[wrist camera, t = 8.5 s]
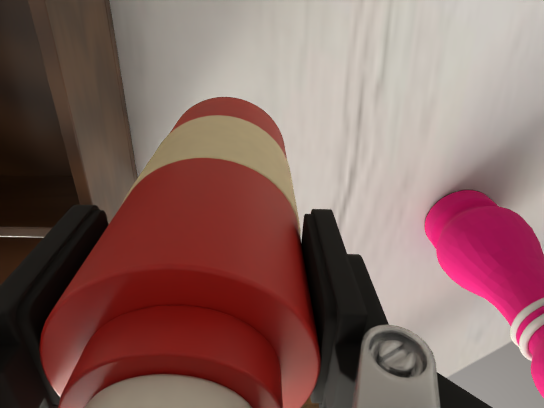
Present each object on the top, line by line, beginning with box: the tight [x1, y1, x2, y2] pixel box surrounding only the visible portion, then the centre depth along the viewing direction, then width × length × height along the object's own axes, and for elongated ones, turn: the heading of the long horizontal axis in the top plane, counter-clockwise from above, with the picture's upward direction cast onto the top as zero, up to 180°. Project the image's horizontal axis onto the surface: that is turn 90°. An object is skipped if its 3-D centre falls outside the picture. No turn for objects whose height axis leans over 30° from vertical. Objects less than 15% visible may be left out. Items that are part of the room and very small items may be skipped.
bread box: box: [0, 0, 137, 238], centre depth 23 cm, size 15×13×8 cm
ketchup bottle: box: [39, 97, 321, 408], centre depth 11 cm, size 6×6×14 cm
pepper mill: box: [425, 190, 544, 398], centre depth 25 cm, size 7×7×20 cm
